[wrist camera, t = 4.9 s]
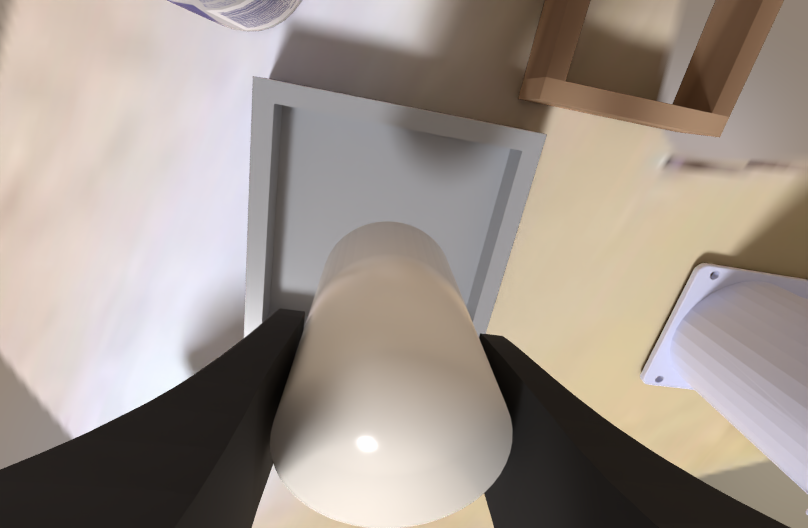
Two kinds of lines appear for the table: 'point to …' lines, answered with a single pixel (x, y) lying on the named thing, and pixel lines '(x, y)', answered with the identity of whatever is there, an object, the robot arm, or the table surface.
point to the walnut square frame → (701, 86)
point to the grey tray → (376, 190)
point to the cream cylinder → (389, 389)
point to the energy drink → (242, 12)
